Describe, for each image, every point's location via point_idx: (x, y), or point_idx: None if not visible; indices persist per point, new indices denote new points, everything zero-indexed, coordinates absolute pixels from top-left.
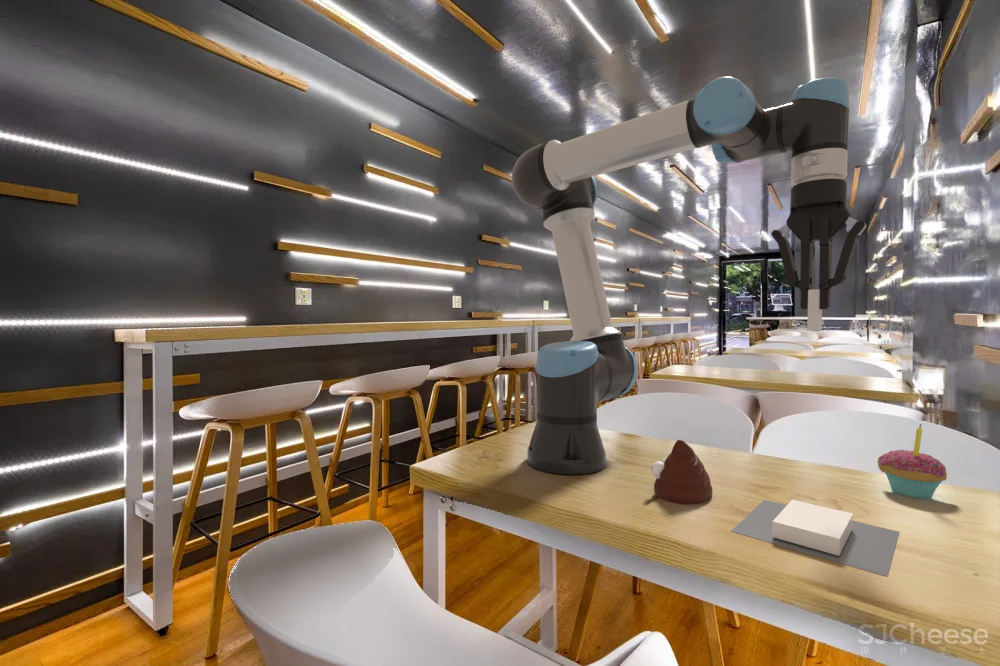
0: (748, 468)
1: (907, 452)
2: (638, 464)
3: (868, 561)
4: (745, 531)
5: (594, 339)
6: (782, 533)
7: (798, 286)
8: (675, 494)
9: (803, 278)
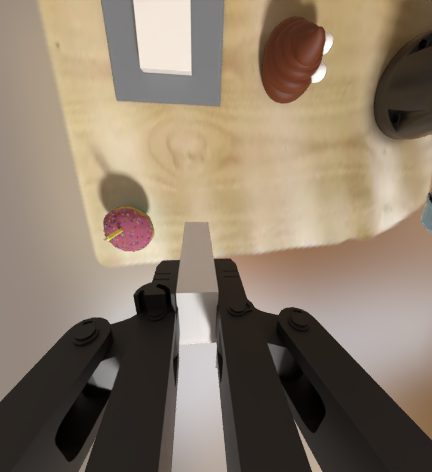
0: (250, 206)
1: (127, 232)
2: (342, 144)
3: None
4: None
5: None
6: None
7: (262, 317)
8: (292, 17)
9: (251, 340)
